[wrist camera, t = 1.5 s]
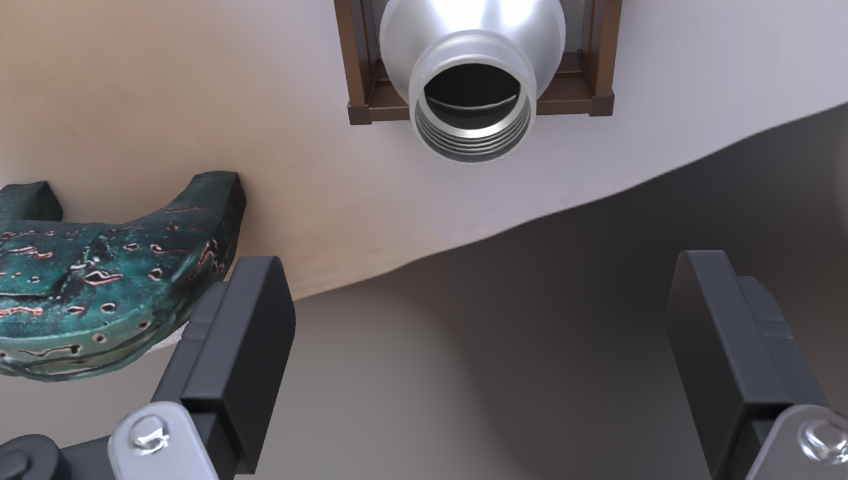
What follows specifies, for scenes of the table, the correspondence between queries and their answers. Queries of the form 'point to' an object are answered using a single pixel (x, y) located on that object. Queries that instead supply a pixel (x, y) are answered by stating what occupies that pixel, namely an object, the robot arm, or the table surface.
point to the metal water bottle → (472, 71)
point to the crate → (566, 94)
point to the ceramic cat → (107, 277)
